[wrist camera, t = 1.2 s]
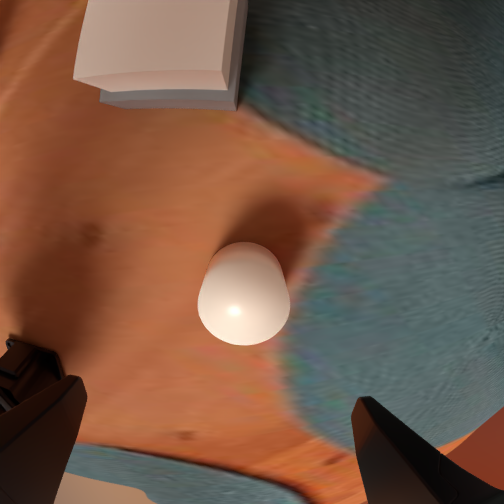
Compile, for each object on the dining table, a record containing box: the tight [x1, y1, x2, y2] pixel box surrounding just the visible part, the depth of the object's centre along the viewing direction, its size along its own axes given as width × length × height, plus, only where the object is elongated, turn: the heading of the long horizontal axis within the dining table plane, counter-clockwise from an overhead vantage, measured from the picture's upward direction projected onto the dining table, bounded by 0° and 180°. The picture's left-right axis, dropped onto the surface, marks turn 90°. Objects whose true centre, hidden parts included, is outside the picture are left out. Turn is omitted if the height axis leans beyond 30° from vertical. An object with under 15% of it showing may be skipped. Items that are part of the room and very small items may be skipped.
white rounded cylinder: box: [198, 242, 290, 345], centre depth 19 cm, size 5×5×4 cm
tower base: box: [99, 0, 248, 111], centre depth 14 cm, size 7×7×4 cm
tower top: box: [73, 0, 238, 92], centre depth 10 cm, size 6×6×4 cm
